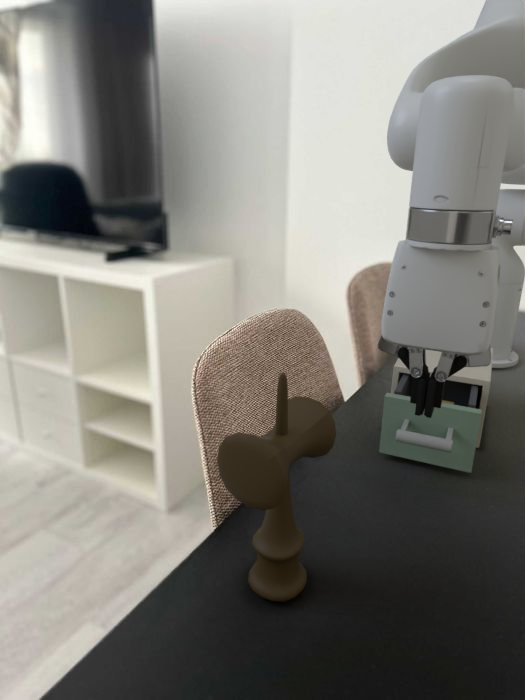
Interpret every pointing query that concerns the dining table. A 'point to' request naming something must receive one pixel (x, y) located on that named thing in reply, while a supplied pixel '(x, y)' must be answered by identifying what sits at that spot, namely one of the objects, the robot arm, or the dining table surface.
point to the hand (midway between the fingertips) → (424, 411)
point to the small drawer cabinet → (464, 375)
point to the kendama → (276, 487)
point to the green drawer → (432, 426)
